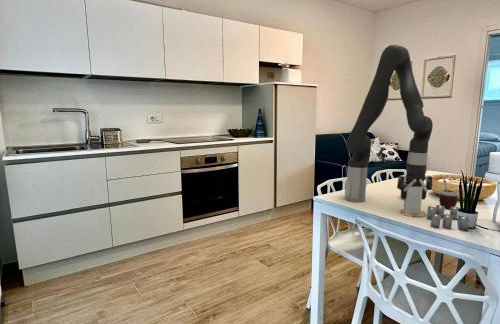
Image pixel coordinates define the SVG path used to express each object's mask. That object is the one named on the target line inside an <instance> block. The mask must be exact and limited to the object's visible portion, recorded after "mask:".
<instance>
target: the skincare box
mask: <svg viewBox="0 0 500 324" xmlns="http://www.w3.org/2000/svg"><path fill="white" fill-rule="evenodd" d="M422 189H423V187H421V186H411V187H410V188H409V187H408V188H407V190H406V200H403V208H402V209H403V211H404V212H405V213H412V214H420V212H421V210H422V209H421V208H422V201H423V200H422Z"/></svg>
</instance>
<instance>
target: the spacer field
mask: <svg viewBox="0 0 500 324" xmlns="http://www.w3.org/2000/svg"><path fill="white" fill-rule="evenodd" d="M444 207H445V206H443V205H440V204H437V205H435V206H430V205H429V206H427V212H426V214H427V215H426V219H427V220H429V221H430V228H432V227H433V229H440V226H441V228H442V227H443V229H444V230H445V229H446V230H451V229H452V224H453V221H458V226H457V230H459V231H462V232H468V230H469V228H468V222H469V217H468V216H467V217H464V216H459V215H458V217H459V219H458V220H457V209H460V206H459V207H458V206H457V205H456V206H451V208H449V209H450V210H449V214H447V213H446V214H445V208H444ZM441 219H442V222H441ZM477 222H478V217H477V218H476V221H475V223H474V226H473V229H472V230H475V229H477ZM441 223H442V225H441Z"/></svg>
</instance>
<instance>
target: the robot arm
mask: <svg viewBox="0 0 500 324" xmlns="http://www.w3.org/2000/svg"><path fill="white" fill-rule="evenodd" d="M379 57H380V58H379V60H378V64H377V68H376V71H375V75H374V77H373V80H372V82H371V84H370V87H369V90H368V91H367V94H366V95H365V96H366V97H365V99H364V101H363V104H362V107H361V109H360V112H359V114H358V117H357V118H356V121H355V123H354V125H353V128H352V130H351V131H350V133H349V135H348V137H347V139H346V142H345V146H346V150H347V151H348V152H349V153H350V154H352V156H351V158H349V160H348V162H347V176H346V177H347V178H346V179H345V186H344V187H345V188H344V199H345V200H347V202H352V203H364V202H365V201H366V193H367V192H366V190H367V179H368V178H367V177H368V166H369V165H368V164H369V162H370V159H371V158H370V157H371V151H372V149H371V148H372V141H371V138H370V137H369V136H368V135H367V133H368V132H369V130H370V128H371V127H372V126H373V124H374V123H375V122H376V121H377V120H378V119H379V117H380V116H381V115H382V113H383V111H384V109H385V106H386V104H387V102H388V98H389V93H390V92H389V91H390V82H391V79H392V76H393V74H394V72H395V74H396V76H397V78H398V82H399V92H400V93H399V95H400V98H401V101H402V104H403V107H404V109H405V112H406V120H407V125H408V128H409V129H410V130H411V131H412V132H413V137H412V138H411V139H410V141H409V147H408V155H407V160H406V170H405V172H406V174H405V175H406V176H402V174H400V175H398V180H397V186H396V189H398V190H399V191H400V199H401V198H402V199H403V201H404V200H406V190H407V188H408V187H409V188H410V187H411V186H421V187H423V189H422V200H421V201H424V200H425V199H426V198H427V192H428V191H431V190H432V189H433V176H431V175H426V174H427V168H428V167H427V166H428V150H429V142H430V138H431V135H432V131H433V120H432V118H430V117H429V116H428V115H427V116H426V115H425V114H424V110H423V108H424V102H423V99H422V96H421V93H420V92H419V88H418V86H417V82H416V80H415V76H414V72H413V69H412V62H411V55H410V52H409V50H408V49H407V48H406V47H405V46H402V45H398V44H390V45H388V46H386V47H385V48H384V49H383V51H382V53H381V55H380V56H379ZM405 179H406V182H405V183H404V181H405ZM403 183H404V185H403ZM407 184H408V185H407ZM402 199H401V200H402Z"/></svg>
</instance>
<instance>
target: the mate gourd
mask: <svg viewBox="0 0 500 324" xmlns="http://www.w3.org/2000/svg"><path fill="white" fill-rule="evenodd" d="M439 176H440V177H441V178H442V181H443V182H444V187H445V189H443V190H441V191H440V194H439V205H443V206H445V207H444V209H446V210H447V211H448V210H449V209H451V206H456V207H457V203H458V194H457V192H456V191H455V190H451V189H448V187H447V182H446V179H445V177H444V176H443V175H442V174H439ZM449 211H450V210H449Z"/></svg>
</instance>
